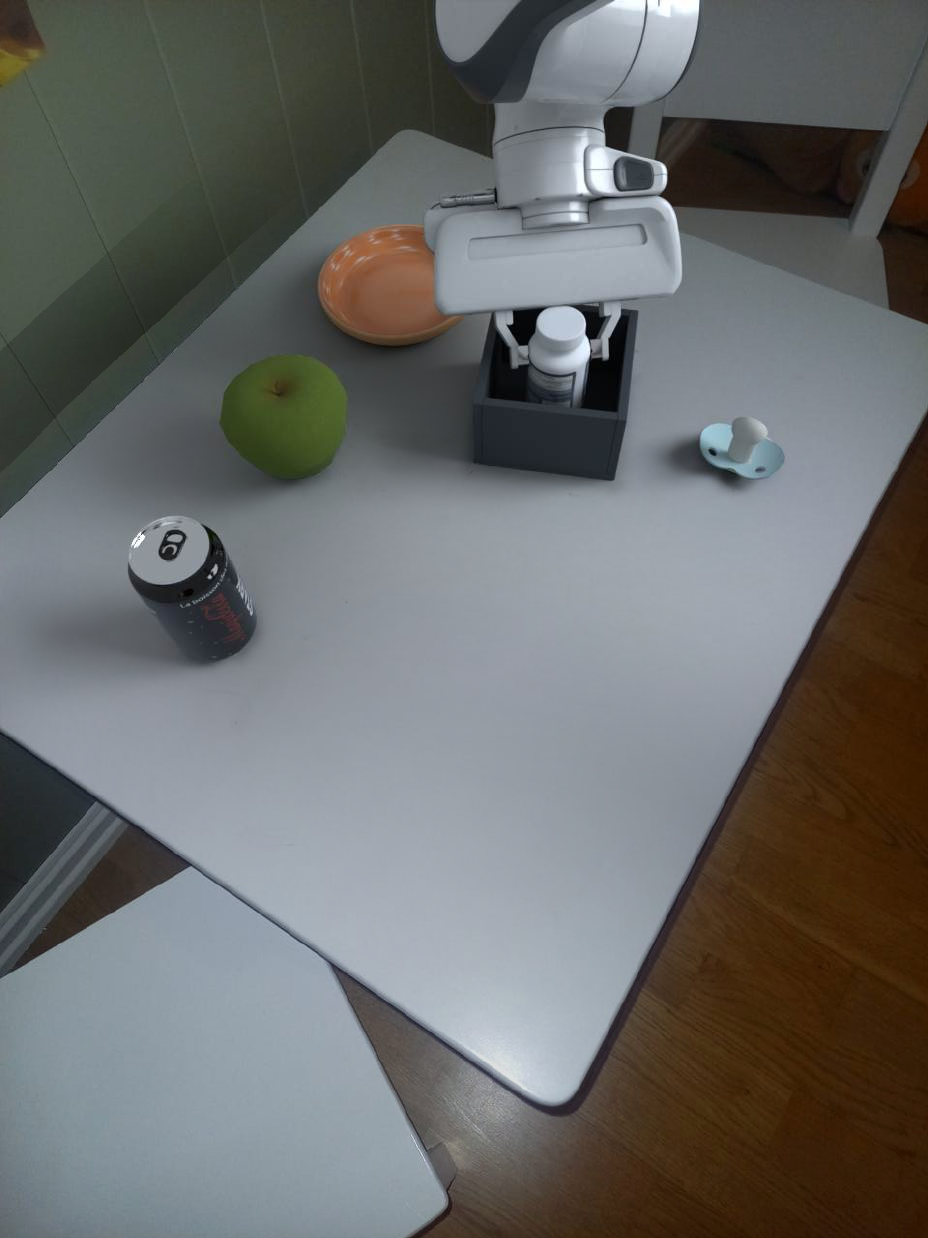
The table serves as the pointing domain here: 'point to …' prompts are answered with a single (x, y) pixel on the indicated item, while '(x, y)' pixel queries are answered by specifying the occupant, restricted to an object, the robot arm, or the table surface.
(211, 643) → the beverage can
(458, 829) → the table surface
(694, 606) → the table surface
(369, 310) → the saucer
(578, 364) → the pill bottle
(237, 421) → the apple
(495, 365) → the bin
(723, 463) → the pacifier
